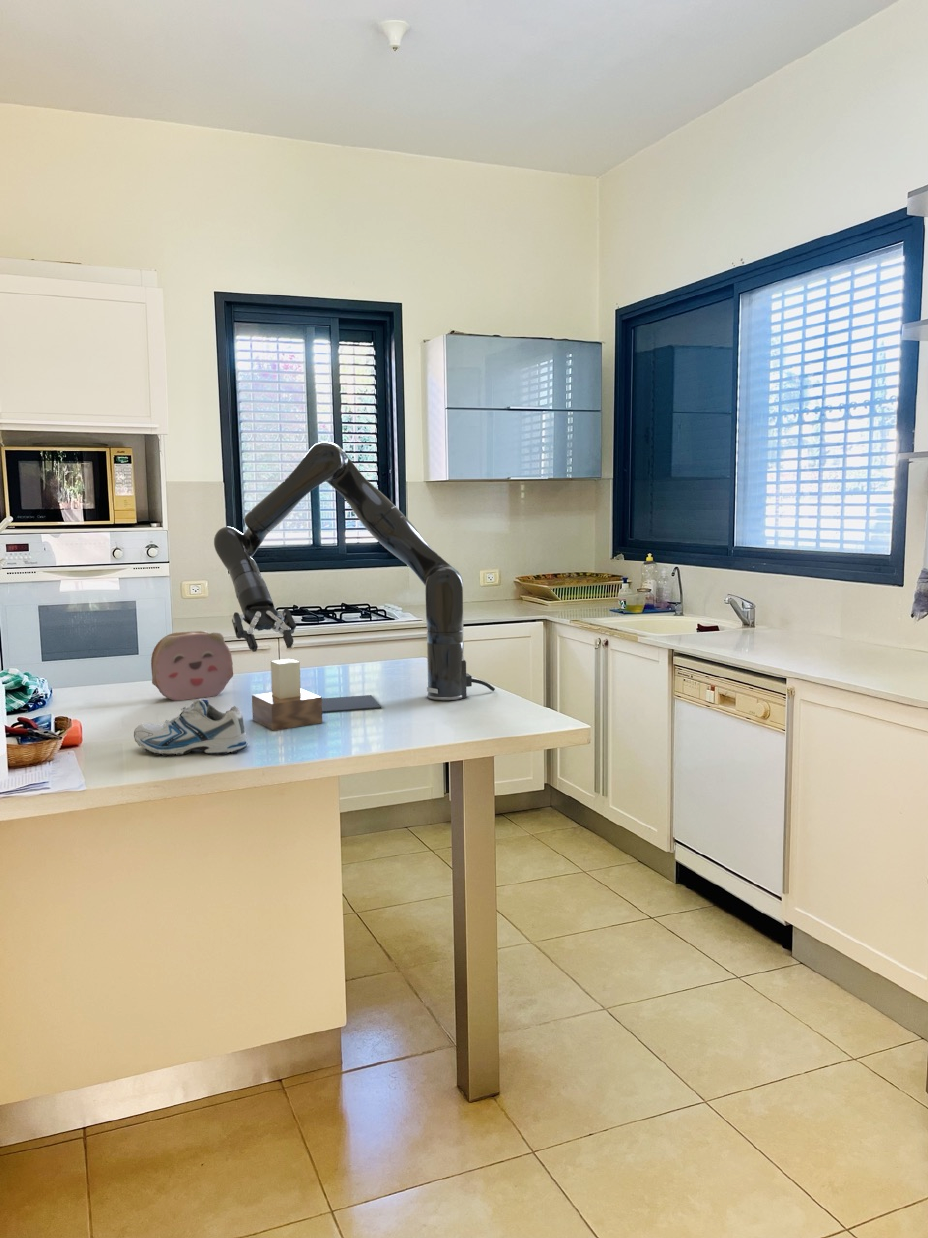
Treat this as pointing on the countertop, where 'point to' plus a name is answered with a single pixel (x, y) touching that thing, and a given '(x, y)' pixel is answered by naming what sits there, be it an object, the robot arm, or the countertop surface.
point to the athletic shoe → (195, 732)
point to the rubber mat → (349, 703)
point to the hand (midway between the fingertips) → (273, 647)
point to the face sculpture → (191, 665)
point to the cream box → (285, 678)
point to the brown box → (287, 710)
